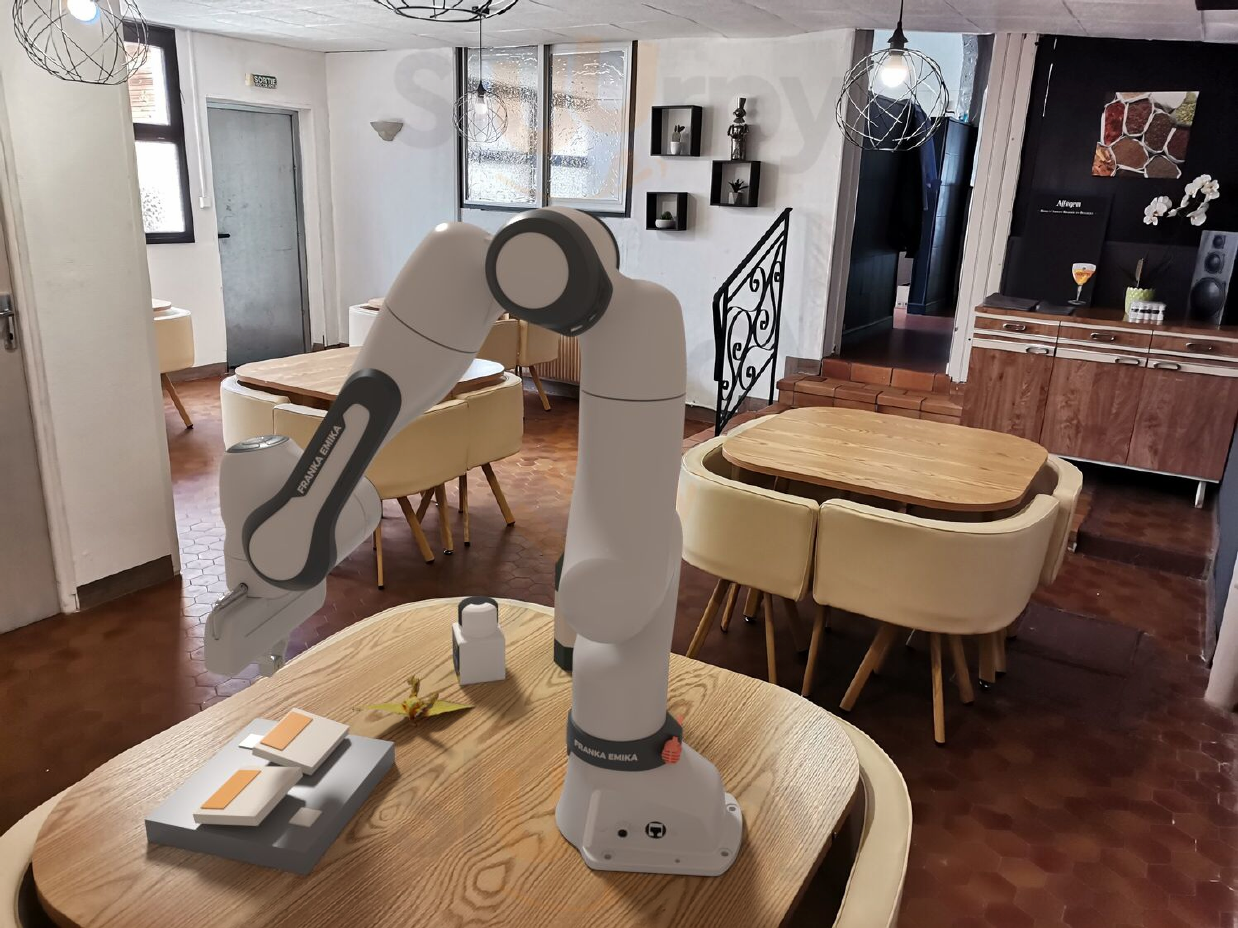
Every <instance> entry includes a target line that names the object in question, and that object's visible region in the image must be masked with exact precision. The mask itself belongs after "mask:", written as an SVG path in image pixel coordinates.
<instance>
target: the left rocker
mask: <svg viewBox="0 0 1238 928" xmlns="http://www.w3.org/2000/svg"><path fill="white" fill-rule="evenodd" d="M302 776H303V775H302V771H301V767H269V766H242V767H241V768H240V769H239V770H238V771H237V772H235V773H234V774H233V775H232V776H231V777H230V778H229V779H228V780H227V781H226V782H225V783H224V784H223V785H222V786H221V787H220V788H219V789H218V790H217V791H216V792H215V793H214V794H213V795H212V796H211V797H210V798H209V799H208V800H207V801H205V802H204V803H203V804H202V805H201V806H200V807H199V808H198V809H197V810H196V811H195V812H194V813H193V817H194V821H195V823H201V824H225V825H250V826H258V825H259V824H260V822H261V821H262V820H263V819H264V818H265V817H266V816H267V815H268V814H269V813H270V811H271V810H272V809H273V808H274V807H275V806H276V805H277V804H278V803H279V802H280V801H281V799H282V798H283V797H284V796H285V795H286V794H287V793H288V792H289V791H290V790H291V788H292V787H293V786H294V785H295V784H296V783H297V782H298V781H299V780H300V779H301V778H302Z"/></svg>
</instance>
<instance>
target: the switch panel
mask: <svg viewBox="0 0 1238 928" xmlns="http://www.w3.org/2000/svg"><path fill="white" fill-rule="evenodd" d="M278 722H279V721H277V720H271V719H268V718H267V719H266V718H261V717H255V718H254V719H253V720H252V721H251V722H250V723H249V724H248V725H246V726H245V728H243V729H242V730H241V731H240V732H239V733H238V734H237V735H236V736H235V737H234V738H232V739H231V740H230V741H229V742H228V743H226V744H225V745H224V746H223V747H222V748H221V749H220V750H219V751H218V752H216V754H215V755H214V756H213V757H211V758H210V759H209V760H208V761H206V763H205V764H204V765H202V767H201V768H199V769H198V770H196V771H195V773H194V774H192V775H191V776H190V778H188V779H187V780H186V781H184V783H182V784H181V786H180V787H178V788H177V789H176V790H175V791H174V792H173V793H172V794H171V795H169V796H168V797H167V798H166V799H165V800H163V802H162V803H161V804H159V806H157V807H156V808H155V809H154V810H153V811H152V812H151V813H150V814H149V815H147V816H146V817H145V818H144V826H145V833H146V840H147V841H146V842H148V843H153V844H158V845H163V846H168V847H172V848H176V849H182V850H185V851H190V852H196V853H200V854H205V855H210V856H214V857H217V858H218V857H219V858H223V859H228V860H233V861H238V862H242V863H247V864H251V865H255V866H260V867H264V868H270V869H274V870H279V871H284V872H288V873H293V874H297V875H303V876H308V875H309V874H310V873H311V871H312V870H313V869H314V868H315V866H316V865H317V864H318V862H319V861H320V860H321V859H322V857H323V856H324V855H325V853H326V852H327V851H328V849H329V848H330V847H331V846H332V845H333V843H334V842H335V841H336V839H337V838H338V837H339V835H340V834H341V833H342V831H344V829H345V828H346V827H347V825H348V824H349V822H351V820H352V818H353V817H354V816H355V815H356V813H357V812H358V811H359V810H360V808H361V807H362V805H363V804H364V803H365V802H366V801H367V799H368V798H369V797H370V796H371V794H372V792H373V791H374V790H375V789H376V787H377V786H378V784H379V783H380V782H382V780H383V779H384V777H385V776H386V774H387V773H388V772H389V771H390V769H391V768H392V767H393V765H394V764H395V763H396V755H395V754H396V753H395V742H394V741H390V740H382V739H379V738H378V739H377V738H374V737H366V736H362V735H355V734H350V733H349V734H348V735H347V736H346V737H345V738H344V740H343V741H342V742H341V743H340V744H339V745H338V746H337V747H336V748H335V750H334V751H333V752H332V753H331V754H330V755H329V756H328V757H327V758H326V760H325V761H324V762H323V763H322V764H321V765H320V766H319V767H318V768H317V770H316V771H315V772H314V773H313V774H312V775H308V774H305V773H303V772H302V775H303V776H302V778H301V779H300V780H299V781H298V782H297V783H296V784H295V785H294V786H293V787H292V788H291V790H290V791H289V792H288V793H287V794H286V795H285V796H284V797H283V798H282V799H281V801H280V802H279V803H278V804H277V805H276V806H275V807H274V808H273V809H272V810H271V811H270V813H269V814H268V815H267V816H266V817H265V818H264V819H263V820H262V821H261V822H260V824H259V825H258V826H250V825H225V824H201V823H195V821H194V817H193V813H194V812H195V811H196V810H197V809H198V808H199V807H200V806H201V805H202V804H203V803H204V802H205V801H207V800H208V799H209V798H210V797H211V796H212V795H213V794H214V793H215V792H216V791H217V790H218V789H219V788H220V787H221V786H222V785H223V784H224V783H225V782H226V781H227V780H228V779H229V778H230V777H231V776H232V775H233V774H234V773H235V772H237V771H238V770H239V769H240V768H241V767H242V766H269V767H285V766H283V765H280V764H277V763H274V762H271V761H268V760H266V759H263V758H260V757H257V756H254V755H252V751H253V746H254V745H255V744H256V743H257V742H258V741H259V740H260V739H262V738H263V737H264V736H265V735H266V734H267V733H268V732H269V731H270V730H271V729H272V728H273V727H274V726H275V725H276V724H277V723H278Z"/></svg>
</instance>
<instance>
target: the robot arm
mask: <svg viewBox="0 0 1238 928" xmlns="http://www.w3.org/2000/svg"><path fill="white" fill-rule="evenodd" d="M620 267H621V252H620V248H619V244H618V241H617V238H616V237H615V235H614V233H613V231H612V230H611V228H610V227H609V226H608V224H606V223H605V222H604V221H603V220H602V219H601V218H600V217H598V215H595V214H593V213H591V212H589V211H587V210H583V209H580V208H572V207H569V206H564V205H550V206H549V205H548V206H543V207H540V208H536V209H530V210H526V211H525V210H524V211H522V212H520V213H518V214H516V215H514V216H513V217H511V218H509V219H508V220H507V221H506V222H505V223H503V225H502V226H501V227H500V228H499V229H498V230H497V231H496V232H495V234H492V233H490V232H488V231H486V230H485V229H483V228H482V227H479V226H477V225H474V224H472V223H469V222H462V221H455V220H454V221H446V222H442V223H440V224H437V225H436V226H434V227H432V229H430V231H429V232H428V233H427V234H426V236H425V237H424V238H423V239H422V240H421V242H420V243H419V244H418V245H417V247H416V248H415V249H414V251H413V252H412V253H411V254H410V256H409V257H408V259H407V260H406V262H405V264H404V265H403V267H402V268H401V270H400V271H399V273H398V274H397V276H396V278H395V279H394V281H393V283H392V285H391V286H390V288H389V291H388V292H387V294H386V296H385V298H384V300H383V302H382V304H381V306H380V308H379V310H378V312H377V314H376V316H375V318H374V320H373V322H372V324H371V327H370V328H369V331H368V333H367V335H366V337H365V339H364V341H363V343H362V346H361V347H360V350H359V352H358V354H357V356H356V358H355V360H354V362H353V364H352V366H351V368H350V370H349V372H348V373H347V376H346V377H345V380H344V381H343V384H342V386H341V388H340V389H339V392H338V394H337V395H336V397H335V399H334V401H333V402H332V404H331V405H330V407H329V409H328V411H327V412H326V414H325V415H324V417H323V419H322V421H321V422H320V424H319V425H318V427H317V428H316V431H315V432H314V434H313V436H312V437H311V439H310V441H309V443H308V444H307V446H306V448H305V450H304V449H303V448H301V447H300V446H299V445H298V444H297V442H295V440H294V439H292V438H291V437H289V436H285V435H282V434H267V435H260V436H255V437H252V438H247V439H245V440H243V441H240V442H237V443H235V444H234V445H232V446H230V447H229V448H227V449H226V450H225V451H224V453H223V455H222V458H221V461H220V466H219V477H218V478H219V484H218V485H219V486H218V487H219V488H218V489H219V507H220V517H221V520H222V521H223V522H222V523H223V524H224V526H225V538H224V541H223V556H224V557H223V558H224V559H223V560H224V567H225V568H224V573H225V582H226V583H225V585H226V588H227V590H228V593H226V594H223V595H222V596H220V597H218V599H217V600H215V602H214V607H213V609H212V610H211V611H210V612H209V613H208V615H207V617H206V620H205V626H204V633H203V634H204V635H203V637H204V638H203V662H204V667H205V669H206V670H207V671H208V672H209V673H210V674H212V675H217V676H221V677H222V676H223V677H228V678H235V677H236V676H238V675H239V674H240V673H242V672H243V671H245V669H247V668H248V667H249V666H251V665H252V664H253V663H254V662H256V664H257V665H258V674H259V675H260V677H264V678H272V677H274V675H276V673H277V672H278V671H280V670H281V669H282V668H283V667H285V666H286V652H287V650H288V647H289V642H290V639H291V632H292V631H294V630H295V629H297V628H298V627H299V626H300V625H301V624H302V623H304V622H305V621H306V620H308V618H311V616H313V614H315V613H316V612H318V611H319V610H320V609H321V608H322V607H323V605H324V603H325V600H326V596H327V576H328V575H329V574H330V573H331V572H332V571H333V570H334V568H335V567H336V566H337V565H339V563H341V562H342V561H343V560H344V559H346V557H348V556H349V555H350V554H351V553H353V552H354V551H355V550H356V549H357V548H358V547H360V545H362V543H364V542H365V541H366V540H367V539H368V538H369V537H370V536H371V535H372V534H373V533H374V532H375V531H376V530H377V529H378V527H379V525H380V523H381V521H382V516H383V504H382V499H381V496H380V494H379V491H378V489H377V487H376V486H375V484H374V483H373V481H371V479H369V478H368V477H367V476H366V474H367V472H368V470H369V469H370V468H371V465H372V464H373V462H374V460H375V459H376V458H377V456H378V455H379V454H380V452H381V451H382V449H384V448H385V447H386V446H387V444H388V443H389V442H390V441H391V440H392V439H393V438H394V437H396V436H397V435H398V434H399V433H400V432H401V431H402V430H404V429H405V428H406V427H408V426H409V425H410V424H412V423H413V422H415V420H417V419H418V418H419V417H421V416H422V415H424V414H425V413H427V412H428V411H430V410H431V409H433V408H434V407H435V406H436V405H437V404H439V403H440V402H441V401H442V400H444V399H445V398H446V396H447V395H448V394H449V393H450V392H451V391H452V390H453V389H454V388H455V387H456V385H457V384H458V383H459V381H460V380H461V379H462V378H463V377H464V375H465V374H466V373H467V371H468V370H469V368H470V367H471V365H472V364H473V362H474V361H475V358H476V357H477V355H478V354H479V352H480V351H481V348H482V346H483V344H484V343H485V341H486V339H487V338H488V335H489V334H490V331H491V330H492V328H493V326H494V325H495V323H496V322H497V321H498V319H499V318H500V317H501V316H502V315H503V314H504V313H505V312H507V313H509V314H510V315H511V316H513V317H515V318H517V319H519V320H521V321H523V322H526V323H528V324H531V325H535V326H538V327H540V328H543V329H546V330H549V331H550V332H554V333H556V334H558V335H561V336H562V337H563V336H564V337H567V338H574V337H576V338H577V341H578V345H579V352H580V373H579V374H580V376H579V377H580V378H579V379H580V381H579V405H578V407H579V411H578V443H577V444H578V445H577V446H578V447H577V462H576V469H575V470H576V471H575V477H574V483H573V487H574V488H573V487H572V494H571V500H570V507H569V514H568V520H567V521H568V522H567V529H566V536H565V538H566V539H565V546H564V551H565V553H564V562H563V568H562V573H561V578H560V583H559V590H558V603H559V607H560V610H561V613H562V615H563V617H564V619H565V621H566V622H567V623H568V625H569V626H570V627H571V628H572V629H573V630H574V631H575V632H576V633H577V637H576V641H575V645H574V650H573V671H572V674H571V675H572V683H571V686H572V687H571V691H572V692H571V707H570V709H569V710H568V713H567V718H566V726H565V727H566V729H565V743H566V755H567V757H568V758H567V765H566V772H565V777H564V782H563V786H562V790H561V793H560V797H559V799H558V802H557V804H556V807H555V813H554V816H555V822H556V823H555V824H556V826H557V828H558V829H559V831H560V833H561V834H562V835H563V838H564V839H566V840H567V841H568V842H570V844H572V845H574V847H576V848H577V849H578V851H579V852H580V854H581V857H582V859H583V860H584V863H585V864H586V865H587V866H588V867H589V868H590V869H593V870H598V871H612V872H613V871H614V872H615V871H617V872H631V873H633V872H634V873H650V874H651V873H653V874H654V873H655V874H669V875H670V874H671V875H686V876H687V875H688V876H689V875H690V876H704V877H705V876H706V877H707V876H708V877H718V876H721V875H722V874H724V873H725V872H726V871H728V869H730V868H731V866H732V865H733V864H734V862H735V861H736V859H737V857H738V854H739V851H740V848H741V844H742V841H743V840H742V839H743V831H744V829H743V827H744V826H743V824H744V823H743V814H742V809H741V807H740V805H739V803H738V801H737V799H736V798H735V797H734V796H733V794H731V793H729V792H727V791H725V789H724V788H725V787H724V783H723V779H722V776H721V774H720V771H719V769H718V768H717V766H716V765H715V764H713V763H712V762H711V761H710V760H708V759H707V758H705V757H704V756H703V755H701V754H700V753H699V752H697V751H696V750H695V749H694V748H693V747H690V746H689V745H688V744H687V743H685V742H684V740H683V735H684V734H683V731H684V730H683V721H684V718H683V713H682V712H680V714H679V717H678V720H676V718H674V717H673V716H672V715H671V714H670V712H669V711H668V709H667V707H668V706H667V705H668V691H669V675H670V673H669V672H670V659H671V649H672V641H673V634H674V627H675V620H676V615H677V614H676V613H677V604H678V594H679V585H680V578H681V569H682V568H681V567H682V558H683V550H684V549H683V547H684V536H683V533H684V532H683V525H682V521H681V519H680V515H679V513H678V511H677V510H676V503H677V502H676V501H677V495H678V488H679V480H680V476H681V475H680V474H681V470H682V461H683V447H684V446H683V445H684V444H683V443H684V432H685V431H684V430H685V429H684V428H685V415H686V399H687V398H686V397H687V379H688V377H687V376H688V374H687V371H688V367H687V365H688V364H687V363H688V362H687V360H688V359H687V340H686V331H685V324H684V323H685V321H684V315H683V310H682V305H681V302H680V301H679V299H678V297H677V296H676V295H675V294H674V293H673V292H672V291H671V290H670V289H668V288H667V287H665V286H663V285H661V284H660V283H657V282H654V281H651V280H647V279H636V278H634V279H632V278H630V277H627V276H625V275H624V274H622V273H621V272H620Z"/></svg>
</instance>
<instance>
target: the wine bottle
mask: <svg viewBox="0 0 1238 928" xmlns="http://www.w3.org/2000/svg"><path fill="white" fill-rule="evenodd" d="M573 488H574V486H573V487H572V489H573ZM564 553H565V550H563V552H562V554H561V556H560V557H559V558H558V560H557V561H556V563H555V565H554V567H555V568H554V611H553V612H554V617H553V622H554V623H553V624H554V625H553V627H554V628H553V662H554V663H555V665H557V666H558V667H559V668H560V669H562V670H563V671H567V672H573V650H574V645H575V641H576V637H577V633H576V632H575V631H574V630H573V629H572V628H571V627H570V626H569V625H568V623H567V622H566V621H565V619H564V617H563V615H562V613H561V610H560V607H559V603H558V590H559V583H560V578H561V573H562V568H563V562H564Z"/></svg>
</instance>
